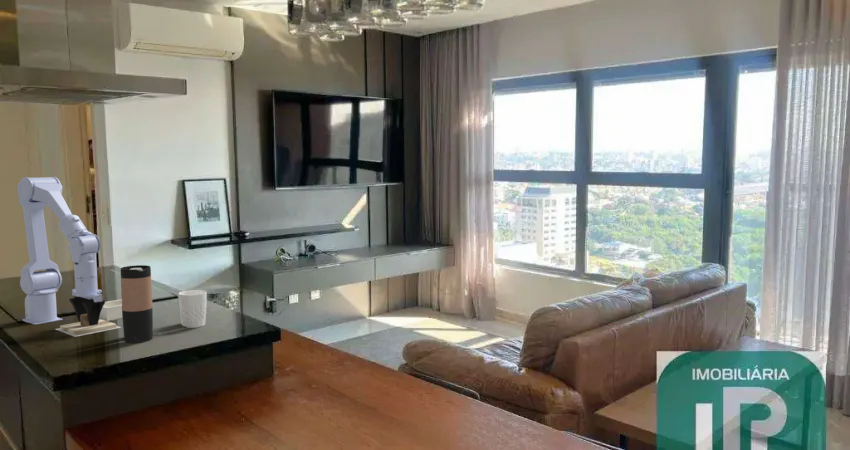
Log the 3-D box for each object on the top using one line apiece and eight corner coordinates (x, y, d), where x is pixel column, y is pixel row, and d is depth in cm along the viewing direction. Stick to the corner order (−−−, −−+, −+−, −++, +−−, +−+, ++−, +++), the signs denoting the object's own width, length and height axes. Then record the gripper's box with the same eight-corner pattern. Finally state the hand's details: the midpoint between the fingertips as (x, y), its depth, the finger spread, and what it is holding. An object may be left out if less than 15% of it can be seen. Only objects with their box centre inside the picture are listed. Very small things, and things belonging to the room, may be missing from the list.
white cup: (198, 329, 185) (197, 295, 184) (174, 328, 187) (172, 294, 186) (212, 322, 193) (211, 290, 192) (189, 321, 195) (188, 289, 194)
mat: (54, 330, 183) (54, 329, 183) (100, 322, 194) (100, 320, 194) (75, 338, 175) (74, 336, 175) (121, 329, 186) (121, 327, 186)
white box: (93, 318, 199) (92, 303, 198) (122, 312, 206) (121, 299, 205) (107, 322, 193) (106, 307, 193) (136, 317, 200) (135, 302, 200)
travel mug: (129, 335, 178) (126, 265, 176) (157, 335, 179) (154, 265, 177) (118, 343, 171) (115, 269, 169) (148, 342, 171) (145, 269, 169)
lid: (60, 328, 184) (59, 315, 183) (98, 321, 192) (98, 308, 192) (77, 335, 177) (76, 321, 176) (116, 327, 185) (116, 314, 185)
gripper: (112, 277, 182) (114, 324, 183) (88, 272, 191) (90, 316, 192) (86, 281, 176) (88, 329, 178) (63, 275, 185) (66, 321, 186)
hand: (88, 323), depth 184 cm, fingers open, 6 cm apart
